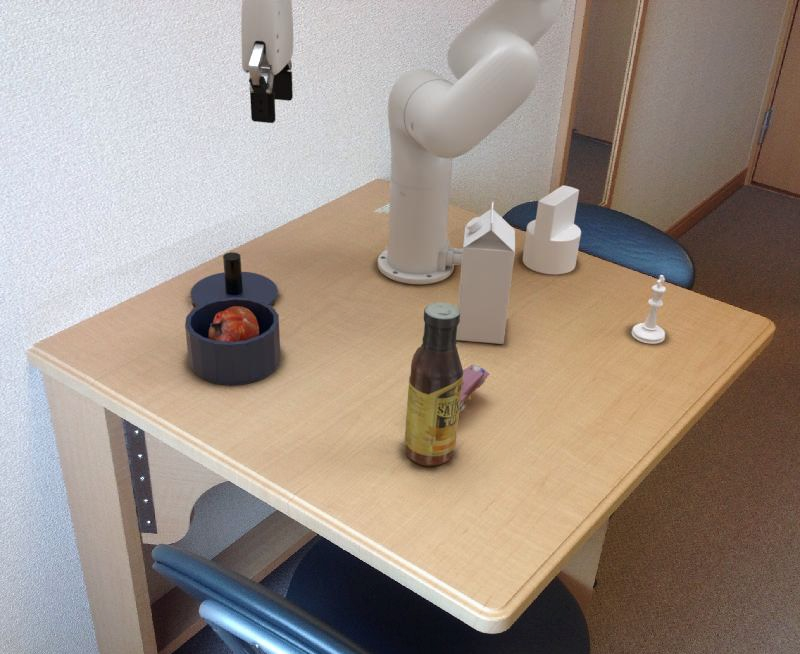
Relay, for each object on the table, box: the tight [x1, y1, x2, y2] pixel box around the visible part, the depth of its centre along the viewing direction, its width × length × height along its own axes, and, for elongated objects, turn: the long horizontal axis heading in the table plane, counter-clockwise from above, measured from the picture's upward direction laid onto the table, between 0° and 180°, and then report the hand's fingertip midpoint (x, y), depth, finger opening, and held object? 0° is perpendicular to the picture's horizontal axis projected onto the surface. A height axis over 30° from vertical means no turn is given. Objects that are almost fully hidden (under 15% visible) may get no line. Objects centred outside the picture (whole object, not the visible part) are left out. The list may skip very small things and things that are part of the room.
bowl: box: [184, 297, 281, 386], centre depth 126 cm, size 12×13×6 cm
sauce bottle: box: [404, 301, 464, 467], centre depth 107 cm, size 6×6×20 cm
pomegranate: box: [208, 306, 259, 342], centre depth 126 cm, size 7×7×10 cm
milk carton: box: [456, 201, 516, 345], centre depth 131 cm, size 7×7×19 cm
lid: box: [190, 251, 279, 307], centre depth 140 cm, size 13×13×7 cm
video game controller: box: [459, 363, 490, 413], centre depth 119 cm, size 10×5×7 cm, turn 148°
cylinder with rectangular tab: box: [522, 184, 582, 275], centre depth 153 cm, size 9×9×12 cm
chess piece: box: [631, 274, 667, 345], centre depth 135 cm, size 5×5×10 cm
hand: (272, 110), depth 128 cm, fingers open, 9 cm apart
